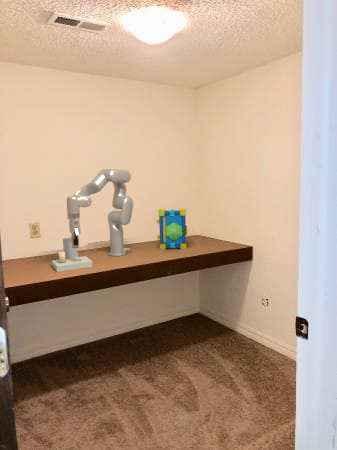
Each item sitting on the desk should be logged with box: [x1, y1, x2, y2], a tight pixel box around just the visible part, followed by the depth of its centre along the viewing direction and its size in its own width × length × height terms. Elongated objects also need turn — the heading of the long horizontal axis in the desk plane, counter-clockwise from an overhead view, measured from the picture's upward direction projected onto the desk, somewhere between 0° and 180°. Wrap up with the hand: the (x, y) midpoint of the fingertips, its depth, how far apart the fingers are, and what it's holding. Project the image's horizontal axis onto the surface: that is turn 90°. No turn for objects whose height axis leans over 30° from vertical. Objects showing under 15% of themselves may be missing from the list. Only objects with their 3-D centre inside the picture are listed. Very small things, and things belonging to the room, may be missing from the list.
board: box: [51, 251, 93, 273], centre depth 233 cm, size 22×16×10 cm
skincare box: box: [62, 237, 79, 259], centre depth 252 cm, size 8×6×15 cm
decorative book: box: [156, 207, 188, 251], centre depth 277 cm, size 14×23×30 cm, turn 89°
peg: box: [70, 233, 80, 249], centre depth 233 cm, size 4×4×10 cm
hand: (75, 244), depth 233 cm, fingers closed on peg, 4 cm apart
